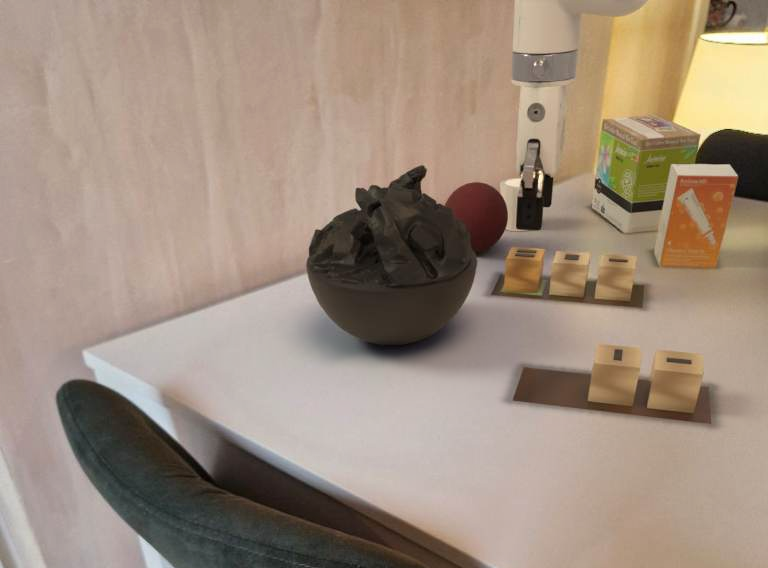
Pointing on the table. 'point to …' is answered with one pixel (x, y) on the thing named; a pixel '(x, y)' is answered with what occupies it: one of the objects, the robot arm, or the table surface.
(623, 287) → the board
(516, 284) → the orange wooden cube
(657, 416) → the front word board
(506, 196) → the shot glass
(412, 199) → the coal bowl
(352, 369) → the table surface
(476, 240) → the decorative ball
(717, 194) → the small box
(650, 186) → the tea box
